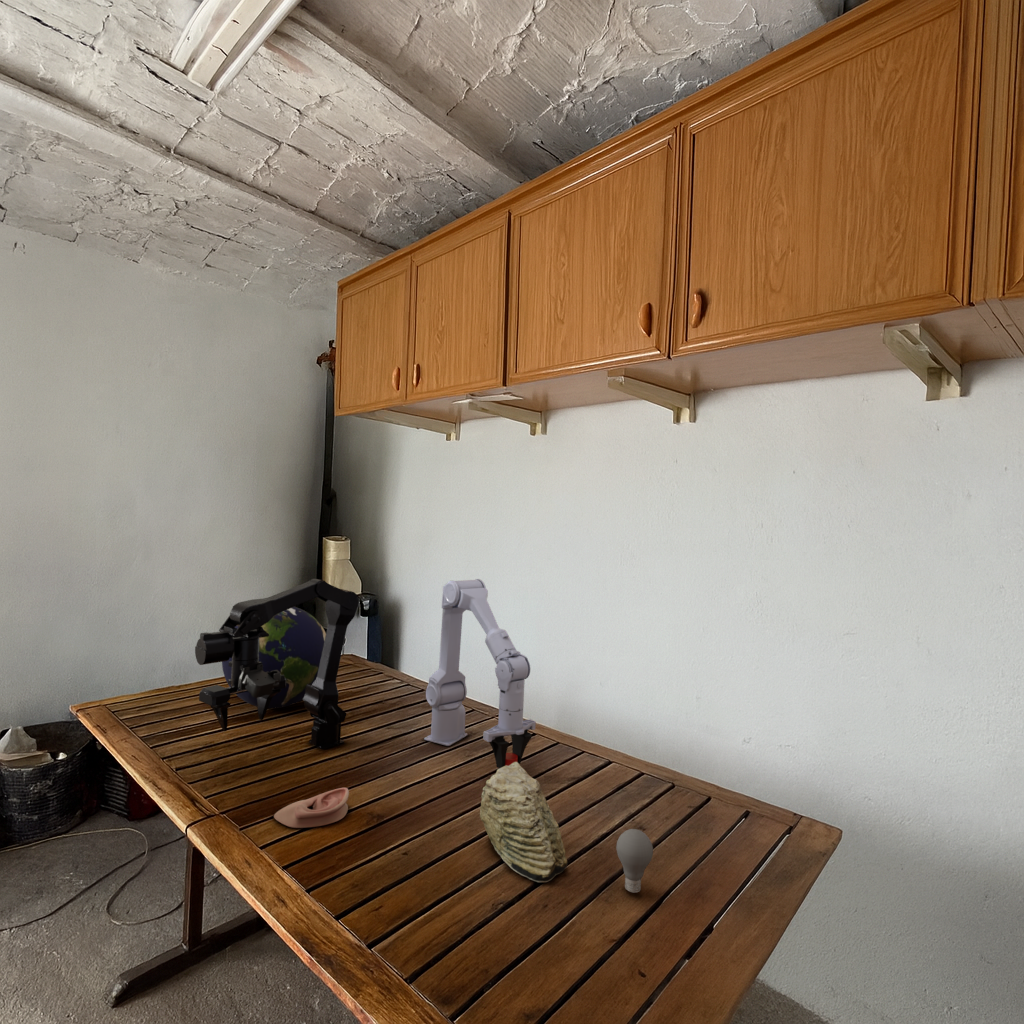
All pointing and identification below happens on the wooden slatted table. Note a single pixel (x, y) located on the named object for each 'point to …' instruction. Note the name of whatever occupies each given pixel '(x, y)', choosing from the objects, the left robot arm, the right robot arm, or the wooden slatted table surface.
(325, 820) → the anatomical model
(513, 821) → the fossil
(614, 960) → the wooden slatted table surface
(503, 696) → the right robot arm
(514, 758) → the red cylinder
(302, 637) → the globe
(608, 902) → the wooden slatted table surface
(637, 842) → the light bulb
